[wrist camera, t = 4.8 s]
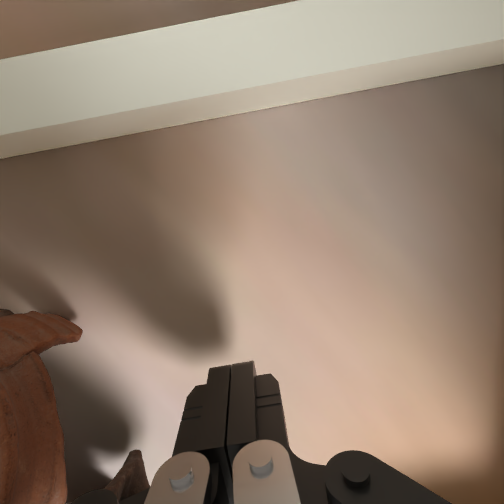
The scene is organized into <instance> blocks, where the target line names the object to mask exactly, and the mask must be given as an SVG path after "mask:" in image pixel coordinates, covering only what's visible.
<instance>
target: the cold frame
mask: <svg viewBox="0 0 504 504" xmlns="http://www.w3.org/2000/svg"><path fill="white" fill-rule="evenodd" d="M500 64H504V0H299V1H294V2H289V3H284V4H279V5H274V6H269V7H264V8H258V9H253V10H248V11H243V12H238V13H233V14H228V15H223V16H218V17H213V18H208V19H203V20H198V21H193V22H188V23H182V24H177V25H172V26H167V27H162V28H157V29H152V30H147V31H142V32H137V33H132V34H127V35H122V36H117V37H112V38H106V39H101V40H96V41H91V42H86V43H81V44H76V45H71V46H66V47H61V48H56V49H51V50H46V51H41V52H36V53H31V54H25V55H20V56H15V57H10V58H5V59H0V159H3V158H8V157H13V156H18V155H24V154H29V153H34V152H40V151H45V150H50V149H55V148H61V147H66V146H71V145H77V144H82V143H87V142H93V141H98V140H103V139H108V138H114V137H119V136H124V135H130V134H135V133H140V132H145V131H151V130H156V129H161V128H167V127H172V126H177V125H182V124H188V123H193V122H198V121H204V120H209V119H214V118H220V117H225V116H230V115H235V114H241V113H246V112H251V111H257V110H262V109H267V108H272V107H278V106H283V105H288V104H294V103H299V102H304V101H309V100H315V99H320V98H325V97H331V96H336V95H341V94H347V93H352V92H357V91H362V90H368V89H373V88H378V87H384V86H389V85H394V84H399V83H405V82H410V81H415V80H421V79H426V78H431V77H436V76H442V75H447V74H452V73H458V72H463V71H468V70H474V69H479V68H484V67H489V66H495V65H500Z"/></svg>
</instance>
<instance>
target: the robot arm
mask: <svg viewBox="0 0 504 504" xmlns="http://www.w3.org/2000/svg"><path fill="white" fill-rule="evenodd" d="M70 504H452V503H450V502H448V501H447V500H445V499H443V498H442V497H440V496H438V495H437V494H435V493H433V492H432V491H430V490H429V489H427V488H425V487H424V486H422V485H420V484H419V483H417V482H415V481H414V480H412V479H410V478H409V477H407V476H406V475H404V474H402V473H401V472H399V471H397V470H396V469H394V468H392V467H391V466H389V465H387V464H386V463H384V462H383V461H381V460H379V459H378V458H376V457H374V456H372V455H370V454H368V453H365V452H362V451H354V450H352V451H344V452H341V453H339V454H337V455H335V456H334V457H332V458H331V459H330V460H329V462H328V463H327V465H326V466H325V465H318V464H312V463H308V462H306V461H303V460H301V459H300V458H298V457H297V456H296V455H295V454H294V453H293V452H292V451H291V449H290V447H289V442H288V436H287V429H286V423H285V417H284V411H283V406H282V400H281V394H280V389H279V383H278V381H277V380H276V379H275V378H274V377H273V376H272V374H264V375H258V376H257V375H256V370H255V365H254V361H249V362H243V363H237V364H232V365H225V366H219V367H213V368H210V369H209V373H208V379H207V384H204V385H198V386H195V388H194V389H193V390H192V391H191V393H190V394H189V395H188V397H187V399H186V403H185V407H184V411H183V415H182V421H181V423H180V427H179V431H178V435H177V439H176V443H175V447H174V451H173V455H172V457H171V458H170V459H168V460H167V461H166V462H165V463H164V464H163V465H162V466H161V467H160V468H159V469H158V471H157V472H156V474H155V476H154V478H153V481H152V484H151V486H150V487H149V488H147V489H145V490H143V491H141V492H139V493H137V494H135V495H133V496H130V497H128V498H126V499H124V500H122V501H119V502H118V500H117V497H116V495H115V494H114V493H113V492H112V491H110V490H107V489H97V490H93V491H90V492H88V493H85V494H83V495H82V496H80V497H78V498H77V499H75V500H74V501H73V502H72V503H70Z"/></svg>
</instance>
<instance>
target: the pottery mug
mask: <svg viewBox="0 0 504 504" xmlns="http://www.w3.org/2000/svg"><path fill="white" fill-rule="evenodd" d="M81 335H82V329H81V328H80V327H78V326H77V325H75V324H74V323H72V322H70V321H68V320H67V319H65V318H63V317H61V316H59V315H56V314H41V313H39V312H36V311H30V312H28V313H25V314H14V313H13V312H11V311H10V310H5V309H0V504H65V503H66V501H67V483H66V465H65V459H64V434H63V430H62V428H61V425H60V422H59V417H58V412H57V407H56V399H55V395H54V389H53V385H52V383H51V379H50V377H49V374H48V372H47V370H46V368H45V366H44V364H43V362H42V360H41V358H40V356H39V354H40V353H42V352H43V351H45V350H47V349H49V348H51V347H52V346H56V345H58V344H66V343H73V342H77V341H78V340H79V339H80V337H81ZM149 487H150V485H149V483H148V480H147V476H146V472H145V467H144V462H143V459H142V453H141V451H140V450H133V451H131V452H130V453H129V455H128V457H127V459H126V461H125V462H124V464H123V467H122V468H121V469H120V471H119V472H118V473H117V475H116V476H115V477H114V479H113V480H112V481H111V482H109V484H108V485H107V486H106V487H105V488H104V489H107V490H110V491H112V492H113V493H114V494H115V495H116V497H117V500H118V502H119V501H122V500H124V499H126V498H128V497H130V496H133V495H135V494H137V493H139V492H141V491H143V490H145V489H147V488H149Z"/></svg>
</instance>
